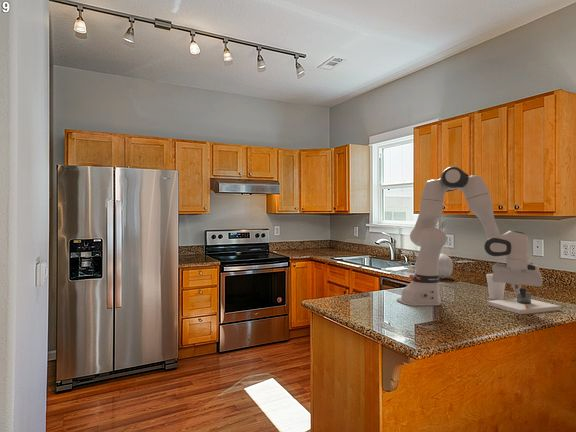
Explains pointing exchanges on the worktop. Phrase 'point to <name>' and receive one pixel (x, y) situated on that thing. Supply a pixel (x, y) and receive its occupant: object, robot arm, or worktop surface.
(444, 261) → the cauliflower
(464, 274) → the worktop surface
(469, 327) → the worktop surface
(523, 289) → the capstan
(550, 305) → the stand
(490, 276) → the foam cup
